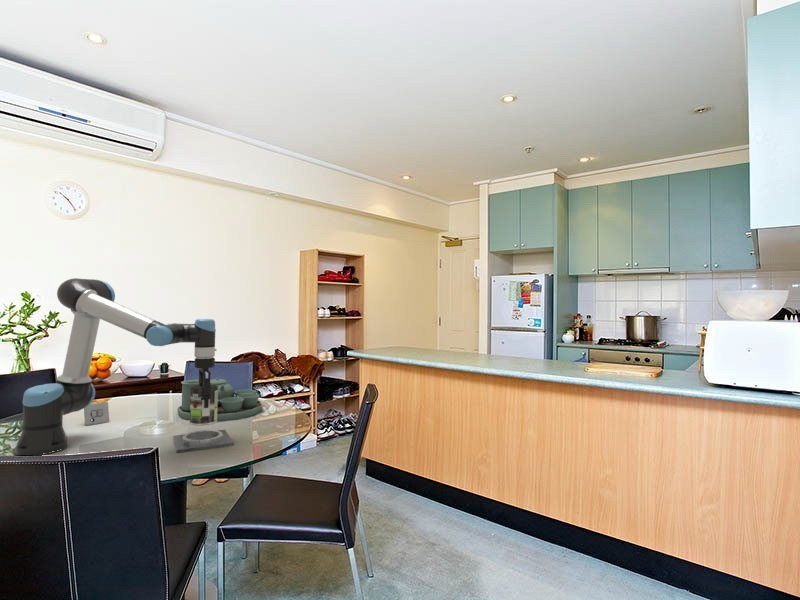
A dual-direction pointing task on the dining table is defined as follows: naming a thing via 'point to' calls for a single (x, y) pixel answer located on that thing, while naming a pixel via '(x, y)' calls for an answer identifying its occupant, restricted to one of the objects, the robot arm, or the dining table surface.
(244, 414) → the tea set
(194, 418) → the coffee can
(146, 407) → the dining table surface
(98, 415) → the electrical switch
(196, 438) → the flange base
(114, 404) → the dining table surface
